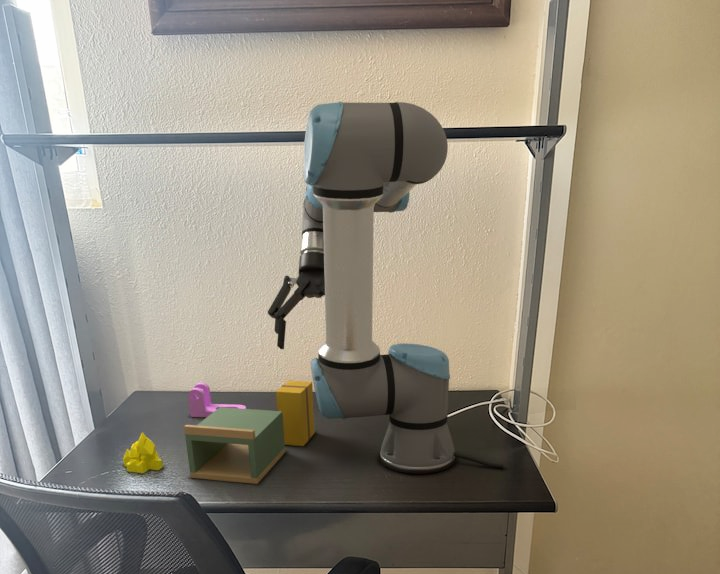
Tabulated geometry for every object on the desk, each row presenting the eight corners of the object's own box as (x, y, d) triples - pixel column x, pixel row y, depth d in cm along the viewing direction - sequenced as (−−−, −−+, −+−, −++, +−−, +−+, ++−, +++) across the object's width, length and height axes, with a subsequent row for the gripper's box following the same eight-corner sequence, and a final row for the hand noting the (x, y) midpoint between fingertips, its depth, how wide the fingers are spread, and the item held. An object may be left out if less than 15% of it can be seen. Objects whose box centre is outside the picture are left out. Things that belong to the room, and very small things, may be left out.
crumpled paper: (134, 459, 146) (128, 424, 143) (168, 463, 144) (163, 427, 141) (118, 470, 141) (111, 434, 138) (152, 474, 139) (147, 438, 136)
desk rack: (285, 452, 148) (282, 403, 144) (257, 484, 134) (252, 431, 130) (224, 447, 152) (219, 399, 147) (190, 477, 138) (183, 426, 133)
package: (314, 433, 158) (312, 381, 153) (303, 446, 151) (300, 393, 146) (291, 431, 160) (288, 380, 154) (279, 444, 152) (275, 391, 147)
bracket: (190, 417, 169) (187, 389, 166) (197, 409, 174) (194, 382, 171) (243, 417, 168) (240, 390, 165) (248, 410, 173) (246, 382, 170)
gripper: (372, 262, 161) (366, 353, 159) (269, 264, 166) (262, 351, 164) (366, 249, 153) (360, 343, 152) (258, 250, 158) (251, 342, 157)
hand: (309, 348), depth 158 cm, fingers open, 13 cm apart
